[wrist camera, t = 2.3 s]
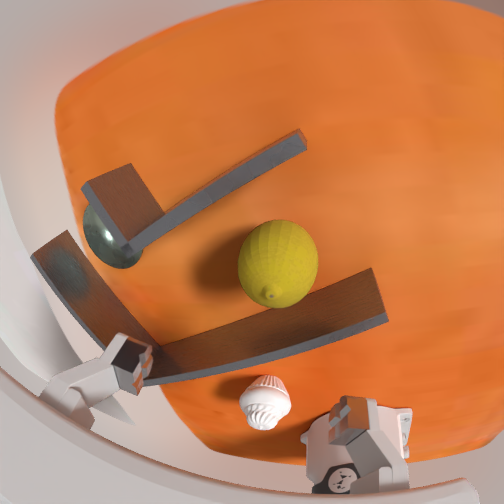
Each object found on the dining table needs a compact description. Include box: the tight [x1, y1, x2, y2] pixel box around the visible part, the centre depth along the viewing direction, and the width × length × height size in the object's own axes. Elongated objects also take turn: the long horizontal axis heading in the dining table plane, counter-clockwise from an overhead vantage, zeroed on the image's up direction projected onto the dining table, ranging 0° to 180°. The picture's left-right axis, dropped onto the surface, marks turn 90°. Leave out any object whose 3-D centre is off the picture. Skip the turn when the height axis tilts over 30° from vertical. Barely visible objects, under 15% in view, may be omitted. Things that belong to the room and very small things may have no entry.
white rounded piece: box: [239, 375, 291, 430], centre depth 29 cm, size 6×6×7 cm
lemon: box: [238, 220, 318, 308], centre depth 20 cm, size 6×6×8 cm
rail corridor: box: [30, 128, 389, 387], centre depth 23 cm, size 20×28×6 cm
